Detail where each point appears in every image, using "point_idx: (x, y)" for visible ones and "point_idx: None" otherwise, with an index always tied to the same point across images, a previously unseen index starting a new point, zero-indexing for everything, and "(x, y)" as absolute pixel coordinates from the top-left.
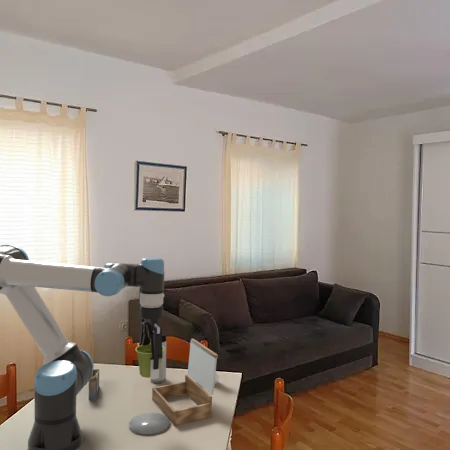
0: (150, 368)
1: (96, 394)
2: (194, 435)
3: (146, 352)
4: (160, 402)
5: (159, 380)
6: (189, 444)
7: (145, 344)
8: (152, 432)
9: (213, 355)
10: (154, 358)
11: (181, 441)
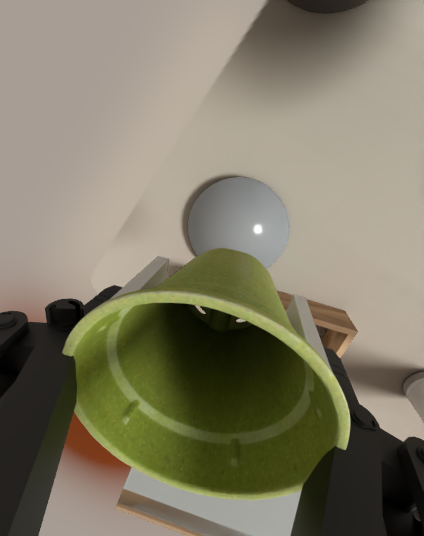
0: (144, 282)
1: None
2: (139, 271)
3: (292, 391)
4: (285, 301)
5: (412, 383)
6: (116, 242)
7: (320, 467)
8: (191, 209)
9: (132, 502)
10: (10, 314)
11: (133, 238)
